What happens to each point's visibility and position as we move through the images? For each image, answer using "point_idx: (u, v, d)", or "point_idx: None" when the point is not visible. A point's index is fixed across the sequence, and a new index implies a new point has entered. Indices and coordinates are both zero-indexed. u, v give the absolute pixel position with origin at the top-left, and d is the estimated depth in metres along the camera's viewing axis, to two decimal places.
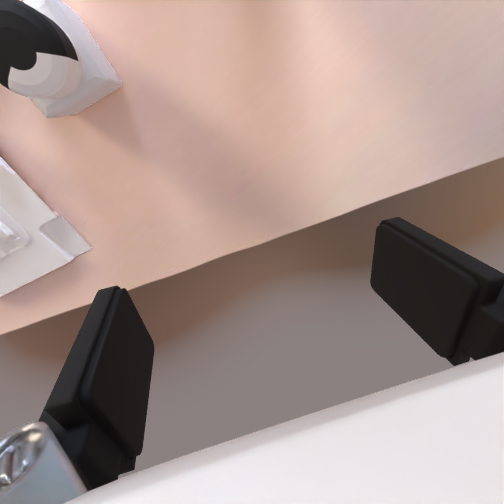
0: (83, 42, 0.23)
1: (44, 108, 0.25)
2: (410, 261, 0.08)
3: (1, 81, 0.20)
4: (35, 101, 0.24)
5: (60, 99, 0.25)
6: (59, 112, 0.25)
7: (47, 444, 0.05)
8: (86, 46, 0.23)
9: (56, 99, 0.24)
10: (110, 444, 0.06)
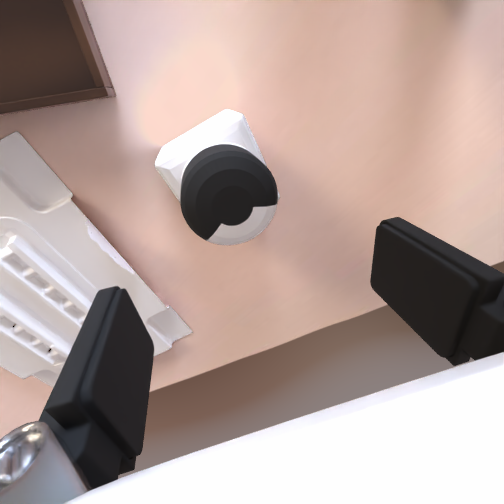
0: (264, 163, 0.20)
1: None
2: (410, 261, 0.08)
3: (202, 235, 0.17)
4: None
5: None
6: None
7: (47, 444, 0.05)
8: None
9: None
10: (110, 445, 0.06)
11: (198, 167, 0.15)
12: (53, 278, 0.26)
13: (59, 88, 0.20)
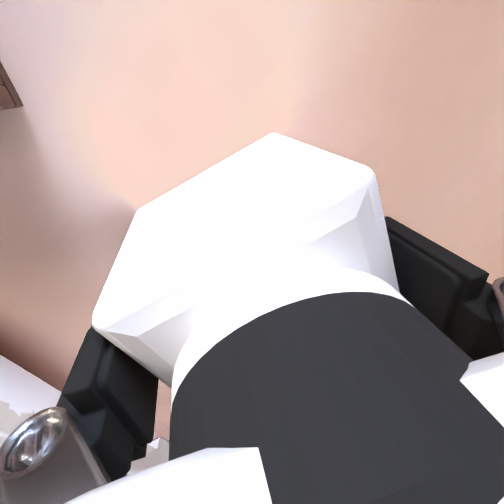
0: None
1: None
2: (398, 260, 0.08)
3: None
4: None
5: None
6: None
7: (67, 427, 0.05)
8: None
9: None
10: (124, 430, 0.06)
11: None
12: None
13: None
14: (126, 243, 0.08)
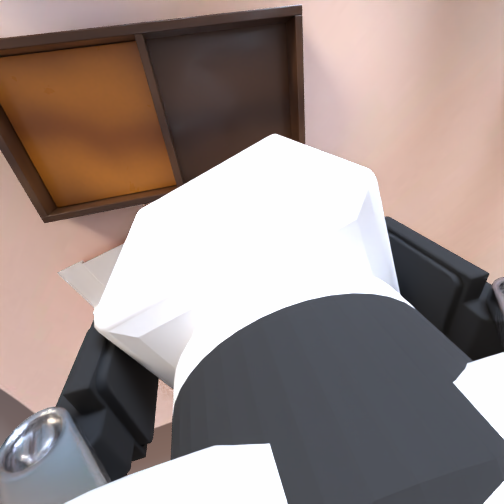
0: None
1: None
2: (398, 260, 0.08)
3: None
4: None
5: None
6: None
7: (67, 427, 0.05)
8: None
9: None
10: (124, 431, 0.06)
11: None
12: None
13: None
14: (127, 244, 0.09)
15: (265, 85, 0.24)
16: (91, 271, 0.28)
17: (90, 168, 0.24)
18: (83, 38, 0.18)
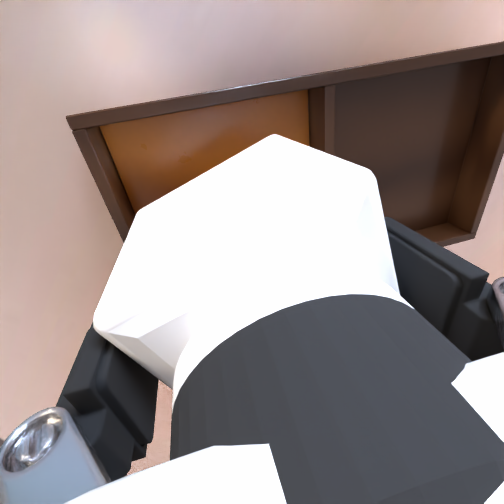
0: None
1: None
2: (398, 260, 0.08)
3: None
4: None
5: None
6: None
7: (67, 427, 0.05)
8: (397, 292, 0.08)
9: None
10: (124, 431, 0.06)
11: None
12: None
13: (414, 225, 0.22)
14: (127, 244, 0.09)
15: (443, 135, 0.18)
16: None
17: None
18: (259, 95, 0.13)
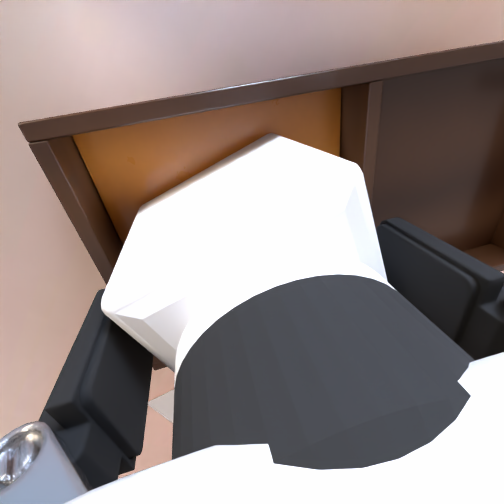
0: None
1: None
2: (410, 261, 0.08)
3: None
4: None
5: None
6: None
7: (47, 444, 0.05)
8: (385, 281, 0.08)
9: None
10: (110, 444, 0.06)
11: None
12: None
13: None
14: (131, 236, 0.09)
15: (497, 143, 0.15)
16: None
17: None
18: (283, 94, 0.09)
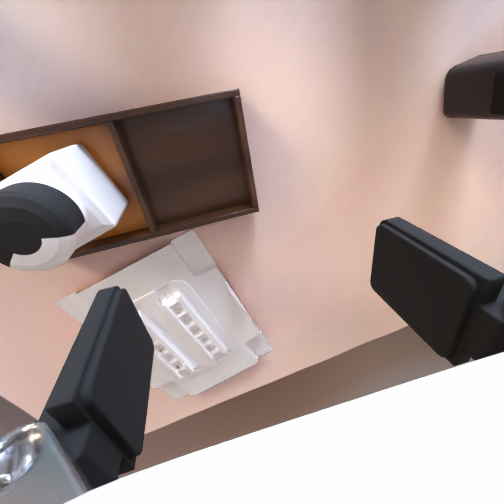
0: (90, 195, 0.22)
1: None
2: (410, 261, 0.08)
3: (2, 263, 0.18)
4: None
5: None
6: None
7: (47, 444, 0.05)
8: (93, 198, 0.22)
9: None
10: (110, 444, 0.06)
11: None
12: (197, 317, 0.38)
13: (224, 204, 0.32)
14: None
15: (218, 145, 0.29)
16: (83, 300, 0.34)
17: None
18: (66, 128, 0.23)
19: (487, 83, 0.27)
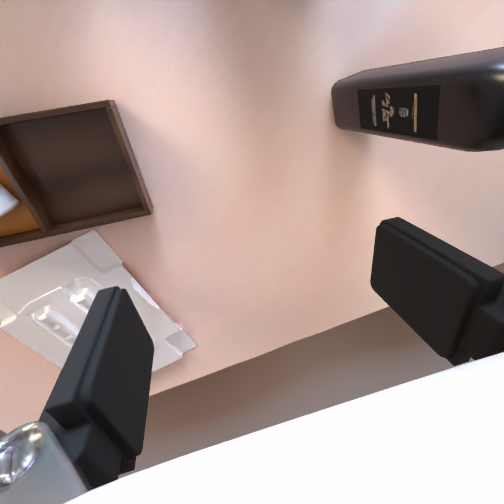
0: None
1: None
2: (410, 261, 0.08)
3: None
4: None
5: None
6: None
7: (47, 444, 0.05)
8: None
9: None
10: (110, 444, 0.06)
11: None
12: None
13: (121, 206, 0.34)
14: None
15: (105, 151, 0.31)
16: None
17: None
18: None
19: (354, 99, 0.29)
